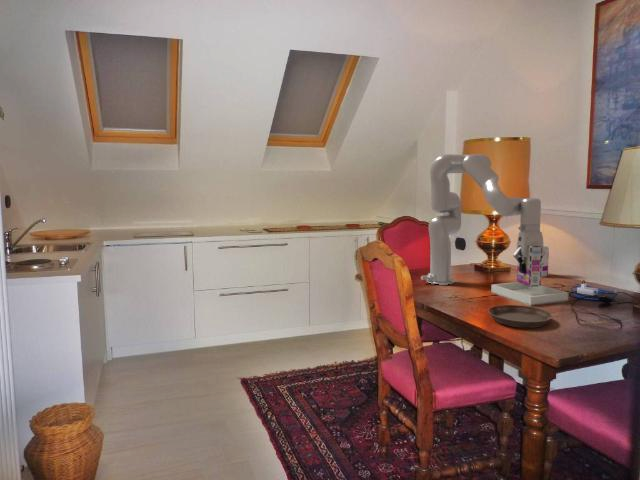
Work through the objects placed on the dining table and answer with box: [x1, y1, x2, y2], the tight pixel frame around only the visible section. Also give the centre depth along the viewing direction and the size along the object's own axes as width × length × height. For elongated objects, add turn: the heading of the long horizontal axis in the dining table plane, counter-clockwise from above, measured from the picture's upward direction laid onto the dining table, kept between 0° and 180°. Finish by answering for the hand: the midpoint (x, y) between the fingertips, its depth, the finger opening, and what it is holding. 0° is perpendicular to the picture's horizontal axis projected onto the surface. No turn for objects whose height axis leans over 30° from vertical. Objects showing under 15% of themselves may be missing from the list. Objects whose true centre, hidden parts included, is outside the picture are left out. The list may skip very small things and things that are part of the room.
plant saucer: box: [488, 304, 553, 329], centre depth 178 cm, size 21×21×3 cm
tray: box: [490, 281, 569, 307], centre depth 211 cm, size 18×24×4 cm
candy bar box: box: [516, 245, 542, 287], centre depth 209 cm, size 11×5×16 cm, turn 5°
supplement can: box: [541, 244, 550, 278], centre depth 251 cm, size 8×8×15 cm
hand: (528, 271), depth 209 cm, fingers closed on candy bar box, 5 cm apart
